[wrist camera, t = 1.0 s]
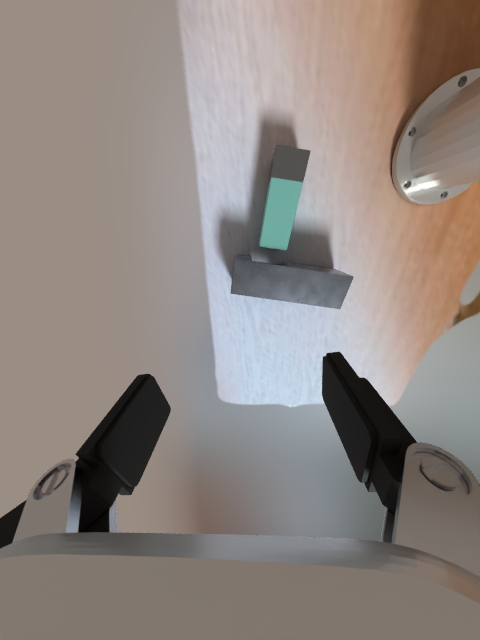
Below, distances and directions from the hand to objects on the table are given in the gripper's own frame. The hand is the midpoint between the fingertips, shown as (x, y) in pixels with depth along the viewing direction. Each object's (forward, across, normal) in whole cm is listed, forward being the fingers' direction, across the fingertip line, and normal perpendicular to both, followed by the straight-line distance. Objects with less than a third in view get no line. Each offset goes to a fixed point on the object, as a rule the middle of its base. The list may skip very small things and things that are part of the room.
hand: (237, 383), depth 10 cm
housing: (+24, -6, +1) cm, 25 cm away
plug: (+24, -6, -10) cm, 27 cm away
